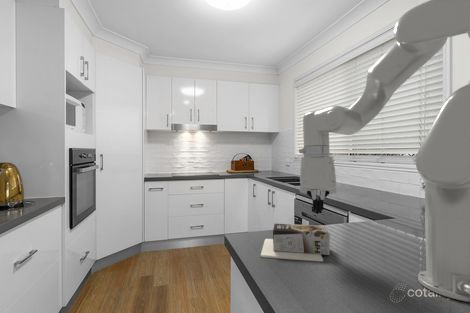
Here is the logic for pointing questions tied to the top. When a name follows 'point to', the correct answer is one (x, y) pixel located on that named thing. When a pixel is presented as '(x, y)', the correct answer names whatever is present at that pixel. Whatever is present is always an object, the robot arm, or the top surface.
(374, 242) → the top surface
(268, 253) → the mat
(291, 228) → the coffee box
